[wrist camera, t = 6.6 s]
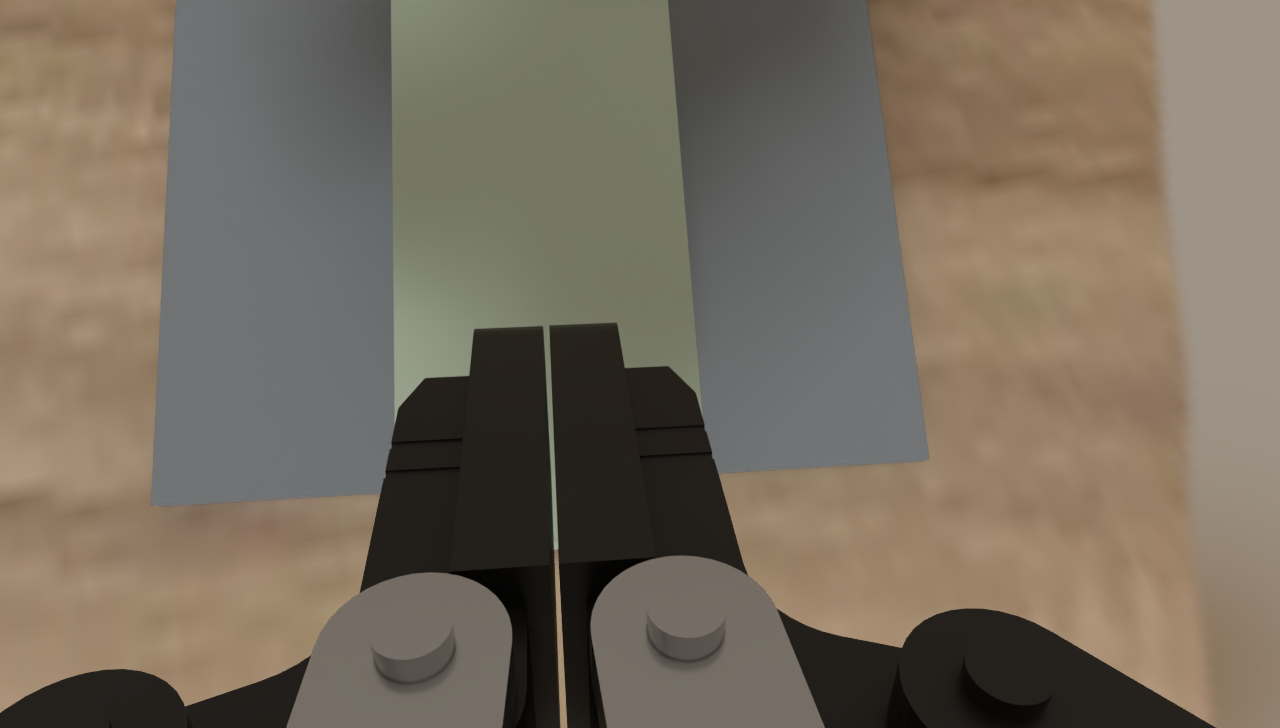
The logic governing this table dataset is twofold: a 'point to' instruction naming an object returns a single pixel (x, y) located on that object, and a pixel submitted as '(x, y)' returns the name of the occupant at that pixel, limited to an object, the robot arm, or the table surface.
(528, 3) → the green block
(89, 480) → the table surface
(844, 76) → the felt mat
